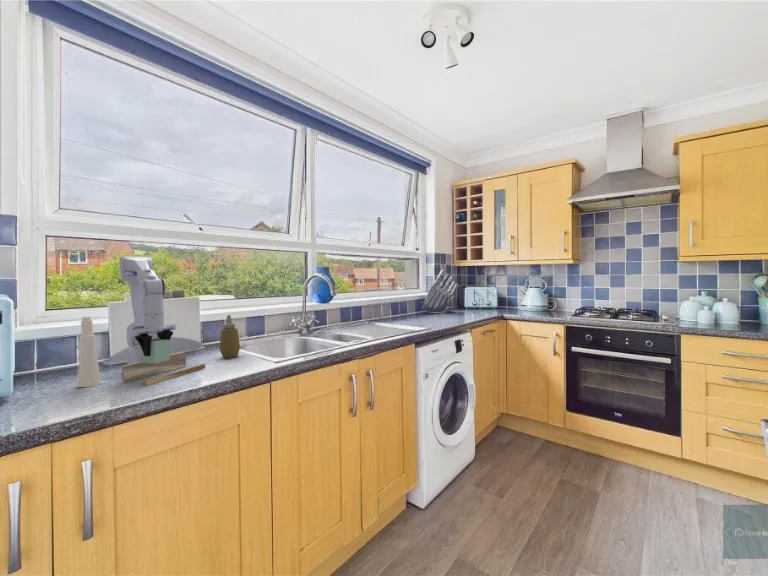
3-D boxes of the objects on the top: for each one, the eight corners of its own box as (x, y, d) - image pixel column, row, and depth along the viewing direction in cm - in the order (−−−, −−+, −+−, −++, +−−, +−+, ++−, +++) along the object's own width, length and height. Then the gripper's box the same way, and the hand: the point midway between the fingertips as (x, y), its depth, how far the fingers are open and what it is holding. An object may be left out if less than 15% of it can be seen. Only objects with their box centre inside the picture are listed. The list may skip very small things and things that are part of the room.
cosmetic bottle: (106, 381, 113) (103, 315, 112) (91, 387, 107) (87, 318, 106) (88, 382, 113) (85, 316, 112) (71, 388, 107) (68, 318, 106)
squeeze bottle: (235, 359, 142) (233, 316, 141) (216, 359, 142) (214, 316, 141) (243, 354, 150) (242, 314, 149) (225, 354, 150) (224, 314, 149)
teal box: (141, 361, 115) (140, 339, 114) (155, 358, 119) (154, 336, 119) (155, 363, 112) (154, 340, 112) (169, 359, 117) (168, 337, 117)
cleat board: (122, 382, 112) (122, 365, 111) (183, 365, 132) (182, 351, 132) (146, 385, 108) (146, 368, 107) (205, 367, 128) (204, 353, 128)
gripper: (140, 317, 107) (141, 359, 108) (181, 312, 121) (183, 350, 121) (125, 316, 110) (126, 358, 110) (167, 312, 123) (168, 349, 124)
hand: (155, 353), depth 116 cm, fingers closed on teal box, 5 cm apart
